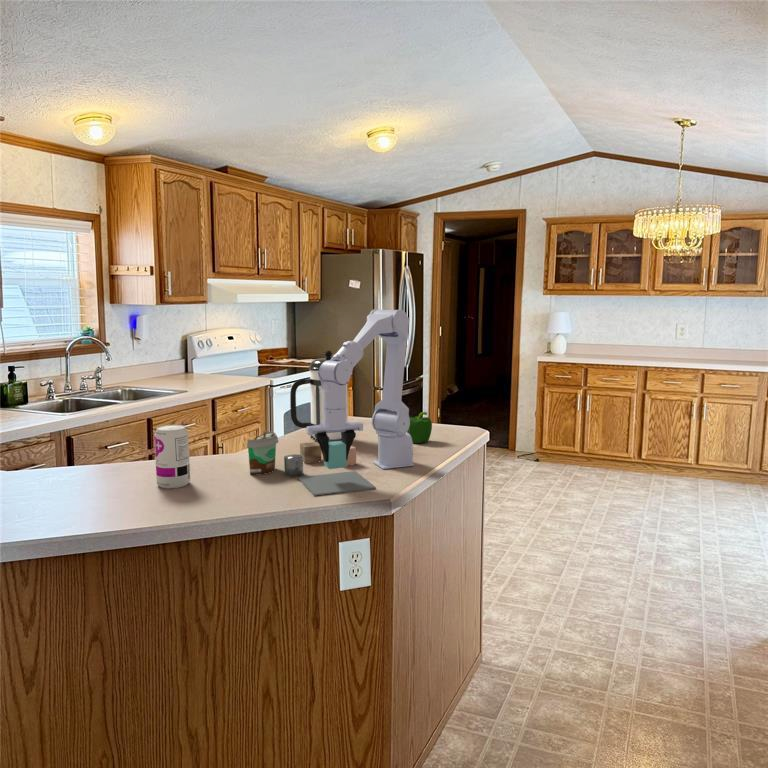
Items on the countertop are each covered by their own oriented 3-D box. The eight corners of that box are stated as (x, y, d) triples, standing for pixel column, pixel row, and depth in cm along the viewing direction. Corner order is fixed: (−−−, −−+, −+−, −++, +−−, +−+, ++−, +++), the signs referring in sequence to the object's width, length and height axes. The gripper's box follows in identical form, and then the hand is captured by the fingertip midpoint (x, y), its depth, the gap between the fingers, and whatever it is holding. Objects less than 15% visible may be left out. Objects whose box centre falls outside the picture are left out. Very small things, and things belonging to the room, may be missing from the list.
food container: (269, 477, 178) (268, 441, 177) (248, 476, 179) (246, 440, 178) (285, 465, 190) (284, 431, 189) (265, 464, 191) (264, 430, 190)
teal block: (340, 463, 175) (340, 440, 174) (346, 467, 171) (345, 444, 170) (324, 465, 173) (323, 442, 172) (329, 469, 169) (328, 445, 168)
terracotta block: (346, 461, 195) (346, 444, 194) (356, 464, 191) (356, 447, 190) (332, 463, 192) (332, 446, 192) (341, 467, 188) (341, 450, 188)
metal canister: (301, 471, 184) (301, 453, 183) (304, 476, 179) (304, 457, 179) (283, 473, 183) (283, 455, 182) (285, 477, 178) (285, 459, 177)
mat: (355, 472, 182) (355, 470, 182) (375, 489, 168) (375, 487, 168) (298, 478, 177) (298, 477, 177) (314, 496, 162) (313, 494, 162)
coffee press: (324, 433, 231) (323, 347, 227) (361, 439, 222) (360, 349, 218) (289, 443, 217) (287, 351, 213) (327, 450, 208) (325, 354, 204)
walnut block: (316, 458, 199) (316, 441, 198) (321, 462, 194) (321, 445, 193) (300, 459, 197) (300, 443, 196) (304, 464, 192) (304, 447, 191)
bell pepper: (402, 443, 216) (402, 413, 215) (411, 438, 224) (411, 409, 222) (426, 445, 213) (427, 415, 212) (435, 440, 221) (435, 410, 219)
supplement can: (160, 491, 167) (156, 432, 165) (154, 482, 174) (151, 426, 172) (193, 486, 170) (190, 428, 168) (186, 478, 178) (184, 423, 176)
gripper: (356, 403, 176) (356, 453, 178) (302, 407, 170) (303, 459, 172) (365, 407, 169) (366, 460, 171) (310, 411, 164) (311, 465, 166)
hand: (335, 460), depth 171 cm, fingers closed on teal block, 4 cm apart
